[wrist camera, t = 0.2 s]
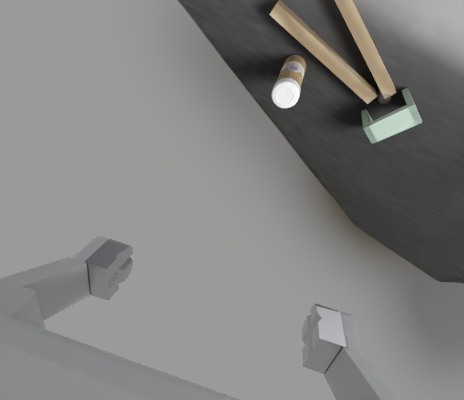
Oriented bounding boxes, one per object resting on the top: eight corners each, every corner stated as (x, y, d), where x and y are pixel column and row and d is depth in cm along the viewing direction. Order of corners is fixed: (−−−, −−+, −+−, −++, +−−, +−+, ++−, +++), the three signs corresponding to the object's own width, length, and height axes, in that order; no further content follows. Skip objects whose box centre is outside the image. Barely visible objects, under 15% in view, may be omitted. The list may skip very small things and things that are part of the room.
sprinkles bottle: (307, 54, 50) (300, 82, 41) (304, 78, 53) (297, 109, 44) (283, 54, 51) (271, 81, 42) (282, 78, 54) (270, 108, 45)
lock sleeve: (407, 87, 49) (414, 104, 45) (415, 104, 51) (422, 122, 46) (361, 111, 55) (363, 128, 50) (369, 125, 56) (372, 144, 52)
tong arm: (279, -1, 45) (276, 2, 43) (375, 89, 51) (377, 96, 49) (272, 10, 47) (269, 14, 45) (366, 97, 52) (367, 104, 50)
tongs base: (325, -58, 39) (325, -57, 37) (396, 90, 50) (398, 97, 48) (307, -40, 41) (306, -38, 39) (379, 99, 52) (381, 106, 50)
